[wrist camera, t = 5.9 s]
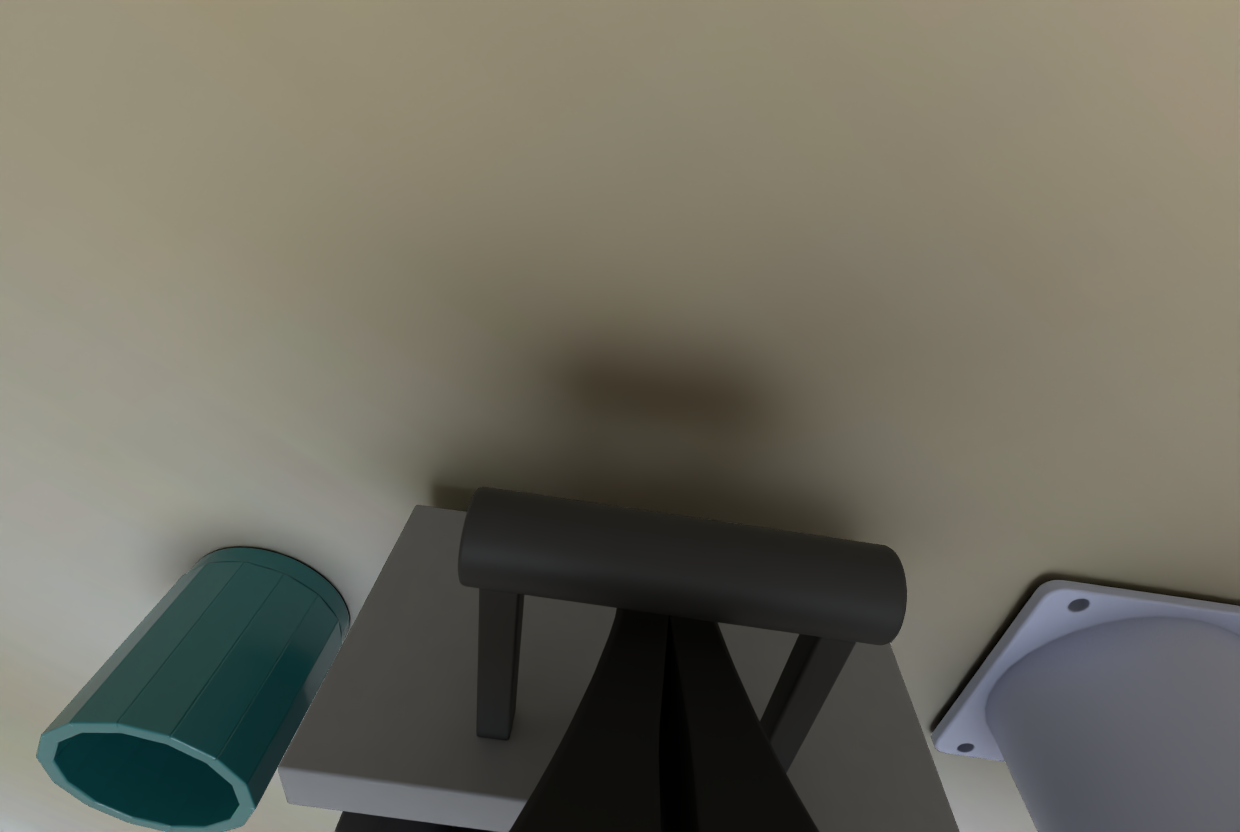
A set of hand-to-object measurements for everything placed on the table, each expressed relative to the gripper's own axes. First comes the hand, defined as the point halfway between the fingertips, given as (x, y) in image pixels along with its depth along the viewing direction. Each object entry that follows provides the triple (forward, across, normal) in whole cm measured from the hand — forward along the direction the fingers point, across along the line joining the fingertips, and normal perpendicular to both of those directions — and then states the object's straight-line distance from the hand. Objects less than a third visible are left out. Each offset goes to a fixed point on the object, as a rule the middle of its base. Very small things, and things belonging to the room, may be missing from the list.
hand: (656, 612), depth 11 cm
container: (+5, +11, +8) cm, 15 cm away
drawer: (+4, 0, +6) cm, 8 cm away
